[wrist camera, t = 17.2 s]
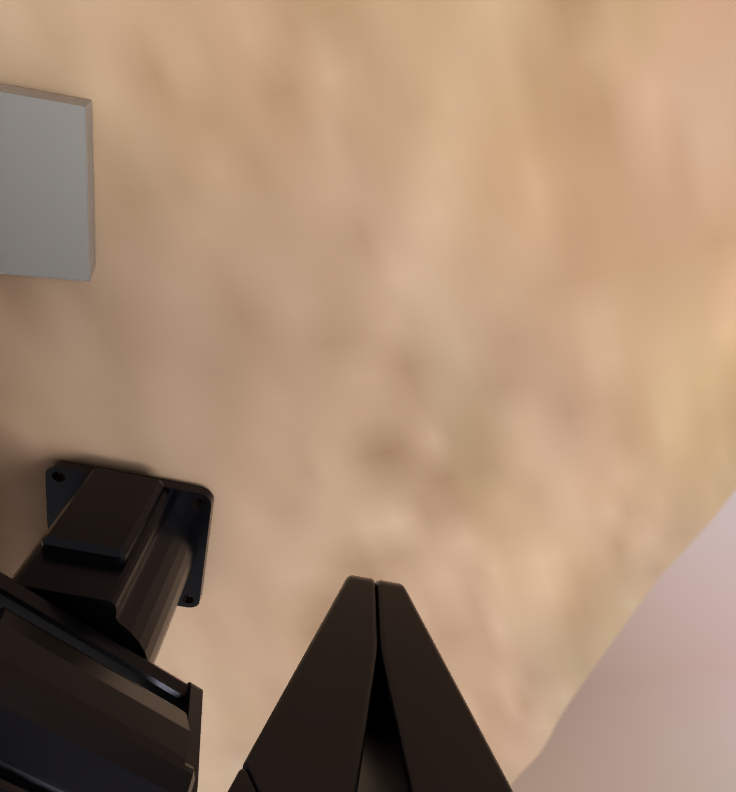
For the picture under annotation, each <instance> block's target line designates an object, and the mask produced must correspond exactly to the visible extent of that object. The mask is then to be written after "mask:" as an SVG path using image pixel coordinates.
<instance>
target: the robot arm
mask: <svg viewBox="0 0 736 792" xmlns="http://www.w3.org/2000/svg"><path fill="white" fill-rule="evenodd" d="M58 472H61V473H62V474H63V475H64V476H62V475H60V474H59V473H58ZM46 497H47V520H48V530H47V531H46V533H45V534H44V535H43V537H42V538H41V539H40V541H39V542H38V543H37V545H36V546H35V548H34V549H33V550H32V552H31V553H30V554H29V556H28V557H27V558H26V560H25V561H24V562H23V564H22V565H21V566H20V568H19V569H18V570H17V572H16V573H15V574H14V576H13V577H12V578H10V577H8V576H6V575H5V574H3V573H1V572H0V792H197V787H198V770H199V752H200V734H201V715H202V697H203V690H202V689H200V688H199V687H197V686H195V685H194V684H192V683H190V682H189V683H187V684H186V683H185V682H183V681H181V680H180V679H178V678H176V677H175V676H173V675H171V674H170V673H168V672H166V671H165V670H163V669H161V668H160V667H158V666H156V665H155V664H154V663H155V660H156V658H157V655H158V653H159V650H160V647H161V645H162V642H163V640H164V637H165V635H166V632H167V630H168V627H169V624H170V622H171V619H172V617H173V614H174V612H175V609H176V607H177V606H183V607H195V606H197V605H198V604H199V601H200V599H201V596H202V590H203V582H204V574H205V566H206V558H207V551H208V543H209V535H210V527H211V519H212V511H213V503H214V496H213V494H212V493H211V492H210V491H209V490H208V489H206V488H203V487H197V486H192V485H187V484H182V483H177V482H171V481H166V480H161V479H156V478H150V477H145V476H140V475H135V474H130V473H124V472H119V471H114V470H109V469H104V468H98V467H93V466H88V465H83V464H77V463H72V462H67V461H56V462H54V463H53V464H52V465H51V466H50V467H49V468H48V469H47V471H46ZM196 498H200V499H202V500H203V501H204V502H199V501H198V500H197V499H196ZM187 595H189V596H187ZM190 596H192V597H190ZM228 792H513V790H512V789H511V787H510V785H509V783H508V781H507V779H506V777H505V775H504V774H503V772H502V770H501V768H500V766H499V764H498V762H497V760H496V758H495V757H494V755H493V753H492V751H491V749H490V747H489V745H488V743H487V742H486V740H485V738H484V736H483V734H482V732H481V730H480V728H479V726H478V725H477V723H476V721H475V719H474V717H473V715H472V713H471V711H470V710H469V708H468V706H467V704H466V702H465V700H464V698H463V696H462V694H461V693H460V691H459V689H458V687H457V685H456V683H455V681H454V679H453V678H452V676H451V674H450V672H449V670H448V668H447V666H446V664H445V662H444V661H443V659H442V657H441V655H440V653H439V651H438V649H437V647H436V646H435V644H434V642H433V640H432V638H431V636H430V634H429V632H428V631H427V629H426V627H425V625H424V623H423V621H422V619H421V617H420V615H419V614H418V612H417V610H416V608H415V606H414V604H413V602H412V600H411V599H410V597H409V595H408V593H407V591H406V589H405V588H404V586H403V585H401V584H398V583H393V582H387V581H382V580H379V581H377V582H376V583H375V582H374V580H373V579H370V578H364V577H359V576H353V575H351V576H349V577H347V579H346V580H345V582H344V584H343V586H342V588H341V589H340V591H339V593H338V595H337V597H336V598H335V600H334V602H333V604H332V606H331V607H330V609H329V611H328V613H327V615H326V616H325V618H324V620H323V622H322V624H321V625H320V627H319V629H318V631H317V633H316V634H315V636H314V638H313V640H312V642H311V643H310V645H309V647H308V649H307V651H306V652H305V654H304V656H303V658H302V660H301V661H300V663H299V665H298V667H297V669H296V670H295V672H294V674H293V676H292V678H291V679H290V681H289V683H288V685H287V687H286V688H285V690H284V692H283V694H282V696H281V697H280V699H279V701H278V703H277V705H276V706H275V708H274V710H273V712H272V714H271V716H270V717H269V719H268V721H267V723H266V725H265V726H264V728H263V730H262V732H261V734H260V735H259V737H258V739H257V741H256V743H255V744H254V746H253V748H252V750H251V752H250V753H249V755H248V757H247V759H246V761H245V762H244V764H243V769H241V770H240V771H239V772H238V774H237V776H236V778H235V780H234V781H233V783H232V785H231V787H230V789H229V790H228Z"/></svg>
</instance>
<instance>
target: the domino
mask: <svg viewBox="0 0 736 792" xmlns="http://www.w3.org/2000/svg"><path fill="white" fill-rule="evenodd" d="M94 267H95V221H94V174H93V126H92V100H87V99H82V98H76V97H71V96H65V95H60V94H54V93H49V92H43V91H38V90H32V89H27V88H21V87H16V86H10V85H5V84H0V274H9V275H20V276H32V277H43V278H54V279H65V280H77V281H88V282H90V280H91V277H92V274H93V271H94Z"/></svg>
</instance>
